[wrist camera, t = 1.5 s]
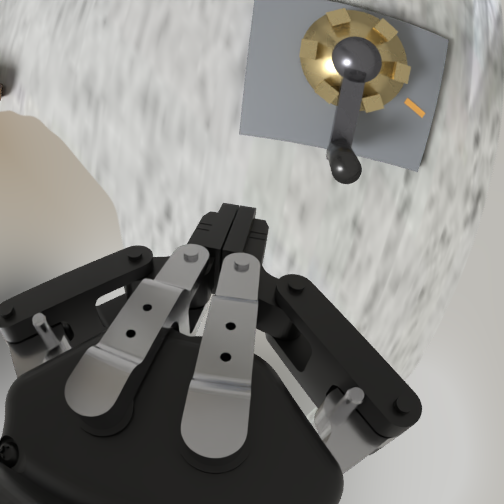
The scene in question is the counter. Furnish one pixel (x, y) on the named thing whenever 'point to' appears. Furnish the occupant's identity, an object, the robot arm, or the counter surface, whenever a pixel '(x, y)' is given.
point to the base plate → (321, 112)
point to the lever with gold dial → (352, 75)
